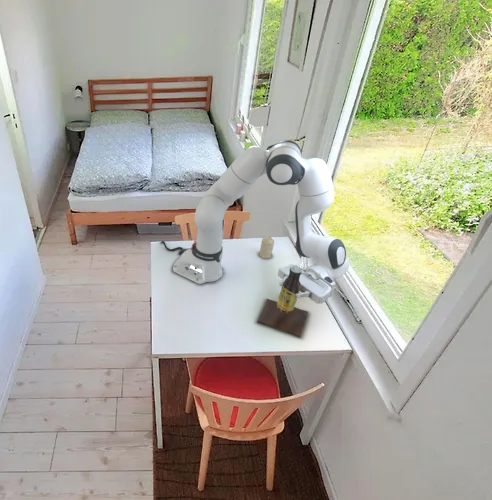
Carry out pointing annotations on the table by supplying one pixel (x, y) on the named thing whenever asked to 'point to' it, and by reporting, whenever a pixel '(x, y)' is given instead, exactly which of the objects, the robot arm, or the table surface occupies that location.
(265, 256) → the candle
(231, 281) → the table surface
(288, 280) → the sauce bottle
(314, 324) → the table surface
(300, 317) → the serving board
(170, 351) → the table surface
